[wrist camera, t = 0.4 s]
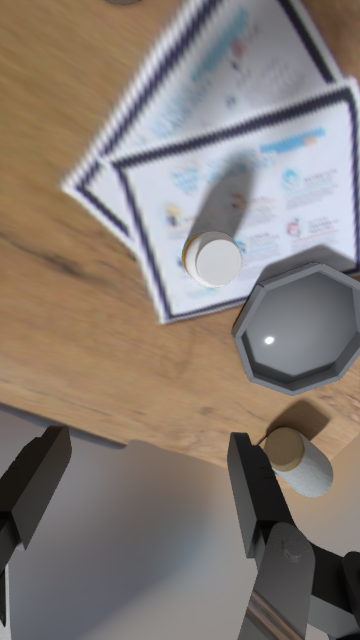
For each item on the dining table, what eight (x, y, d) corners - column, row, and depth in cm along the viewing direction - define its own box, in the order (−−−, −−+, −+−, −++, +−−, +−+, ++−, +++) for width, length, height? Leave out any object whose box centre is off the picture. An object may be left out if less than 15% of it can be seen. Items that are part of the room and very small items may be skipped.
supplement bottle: (183, 279, 29) (191, 298, 20) (179, 235, 27) (185, 233, 18) (224, 274, 29) (250, 290, 20) (222, 230, 27) (250, 225, 18)
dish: (276, 244, 28) (285, 244, 26) (383, 297, 31) (399, 302, 29) (213, 360, 33) (216, 369, 31) (310, 396, 37) (319, 406, 34)
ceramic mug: (287, 415, 38) (315, 457, 31) (314, 439, 40) (346, 483, 33) (240, 449, 40) (255, 496, 33) (268, 470, 42) (288, 518, 35)
